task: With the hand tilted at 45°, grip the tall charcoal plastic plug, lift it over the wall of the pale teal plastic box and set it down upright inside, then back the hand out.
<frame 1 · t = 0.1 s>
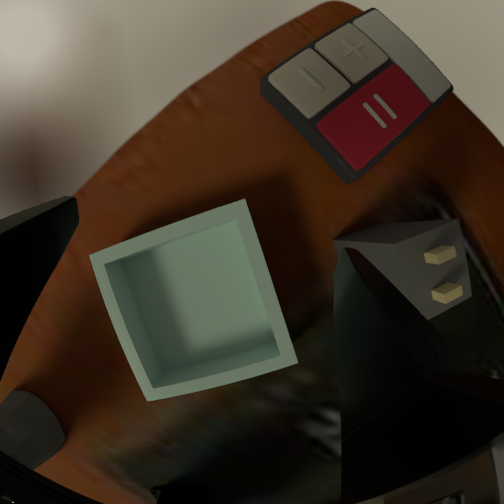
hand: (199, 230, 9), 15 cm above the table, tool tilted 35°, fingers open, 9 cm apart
calculator: (357, 93, 24), on the table
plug: (363, 257, 24), on the table
coffeepot: (36, 413, 25), on the table
walled box: (198, 299, 24), on the table
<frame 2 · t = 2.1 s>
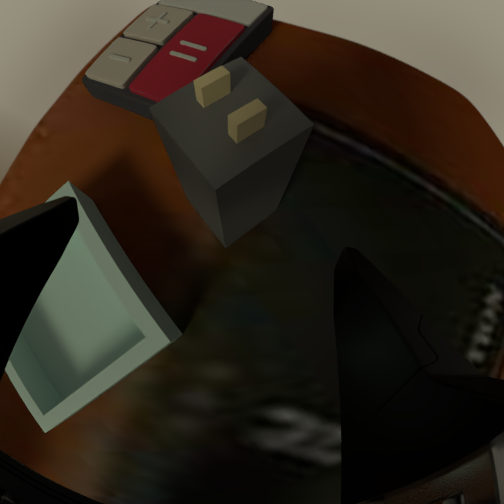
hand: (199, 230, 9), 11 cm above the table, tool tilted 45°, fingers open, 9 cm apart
calculator: (183, 59, 24), on the table
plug: (231, 204, 21), on the table
walled box: (73, 312, 19), on the table
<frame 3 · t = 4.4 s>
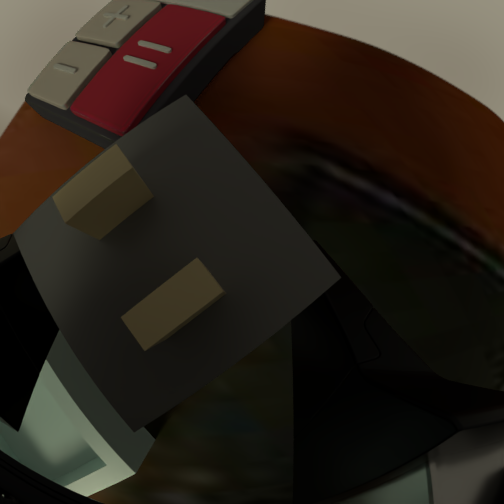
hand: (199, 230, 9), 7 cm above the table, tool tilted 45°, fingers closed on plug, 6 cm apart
calculator: (150, 63, 18), on the table
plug: (208, 285, 16), on the table, touching gripper
walled box: (34, 400, 14), on the table
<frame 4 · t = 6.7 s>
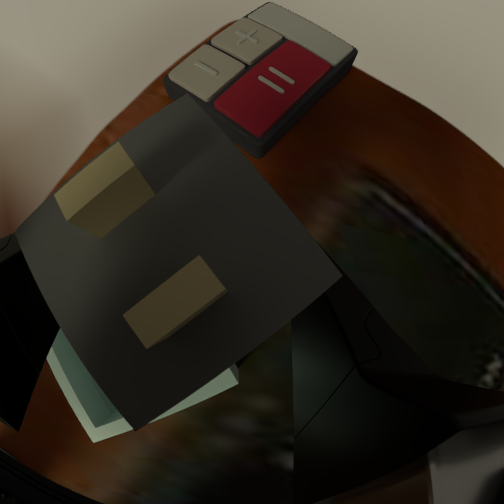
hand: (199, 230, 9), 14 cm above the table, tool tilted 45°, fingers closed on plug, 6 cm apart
calculator: (263, 80, 26), on the table
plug: (209, 284, 16), point 7 cm above the table, touching gripper
walled box: (132, 333, 22), on the table
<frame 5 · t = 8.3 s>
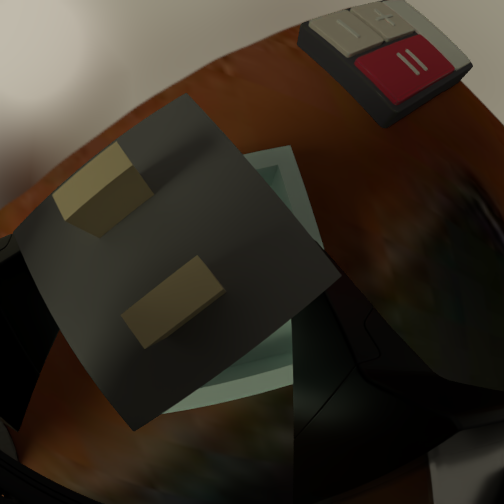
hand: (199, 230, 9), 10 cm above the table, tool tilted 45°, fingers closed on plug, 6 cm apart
calculator: (386, 63, 23), on the table
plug: (209, 284, 16), point 3 cm above the table, touching gripper
walled box: (213, 285, 19), on the table
when the fingers open (9 cm above the table, at t = 9.4 s): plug drops 1 cm, resting on walled box.
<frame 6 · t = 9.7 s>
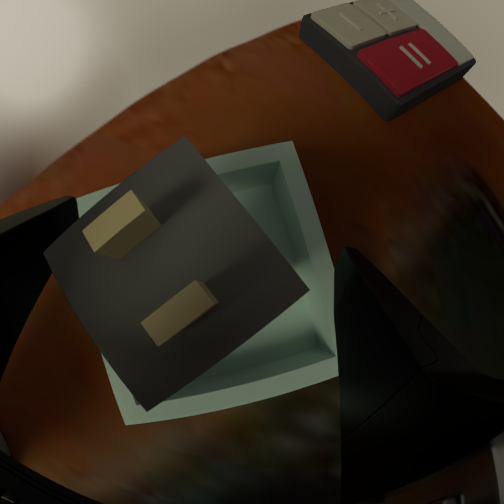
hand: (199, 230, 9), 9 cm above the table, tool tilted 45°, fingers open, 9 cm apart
calculator: (389, 57, 22), on the table
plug: (210, 287, 17), point 1 cm above the table, touching walled box
walled box: (212, 287, 18), on the table
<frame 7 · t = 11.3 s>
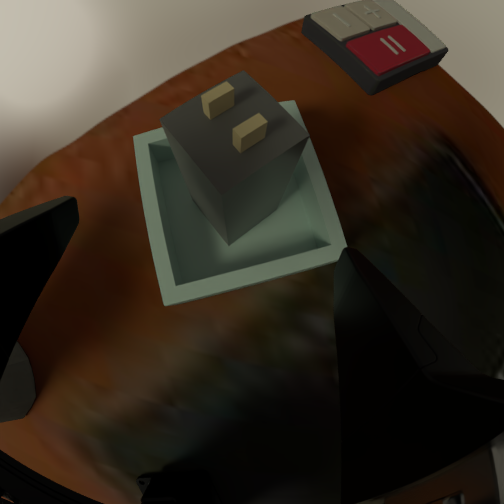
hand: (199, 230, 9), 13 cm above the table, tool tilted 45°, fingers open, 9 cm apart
calculator: (374, 48, 28), on the table
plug: (234, 204, 22), point 1 cm above the table, touching walled box
coffeepot: (6, 363, 20), on the table
walled box: (234, 207, 23), on the table
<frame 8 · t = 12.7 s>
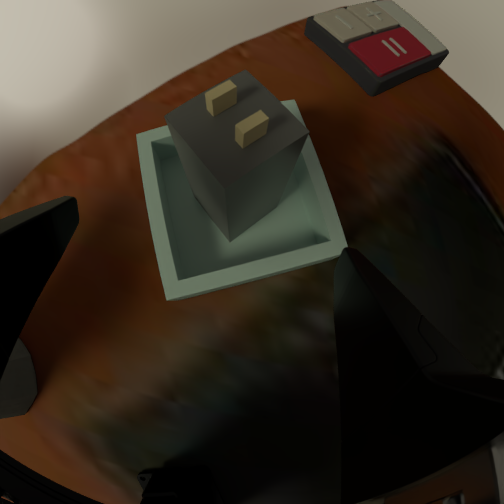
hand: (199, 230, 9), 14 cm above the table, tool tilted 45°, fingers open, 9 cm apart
calculator: (376, 50, 28), on the table
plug: (235, 201, 23), point 1 cm above the table, touching walled box
coffeepot: (7, 359, 20), on the table
walled box: (236, 204, 24), on the table
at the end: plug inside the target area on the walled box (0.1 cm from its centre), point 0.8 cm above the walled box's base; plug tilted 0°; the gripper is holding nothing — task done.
